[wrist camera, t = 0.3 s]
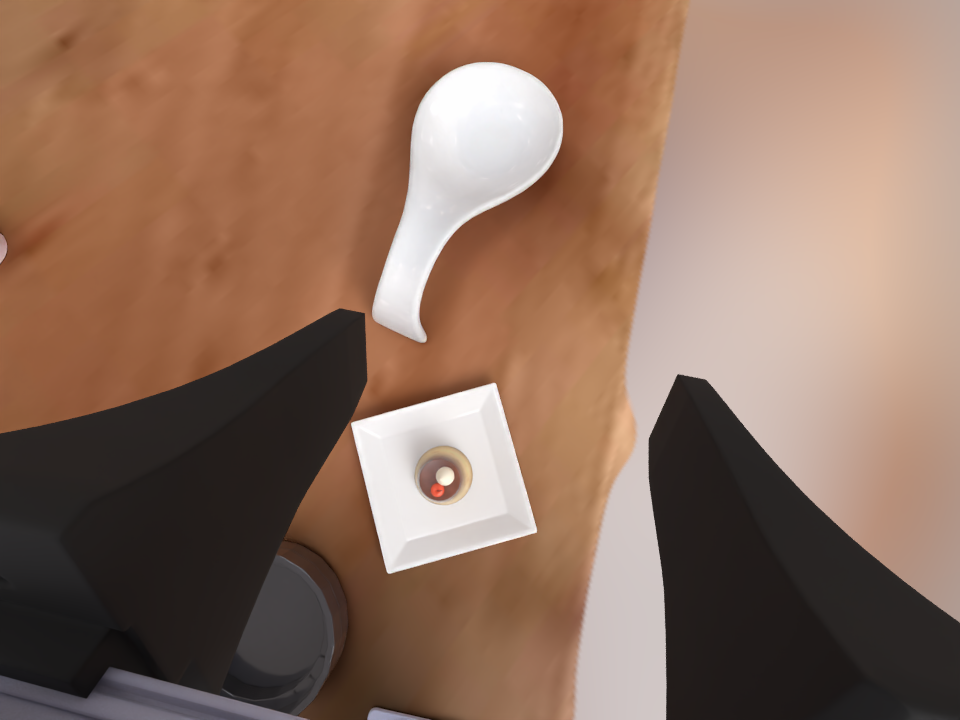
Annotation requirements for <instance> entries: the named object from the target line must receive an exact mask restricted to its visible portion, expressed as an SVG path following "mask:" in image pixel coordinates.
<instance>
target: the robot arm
mask: <svg viewBox="0 0 960 720" xmlns="http://www.w3.org/2000/svg"><path fill="white" fill-rule="evenodd" d="M366 383H367V360H366V334H365V313H361V312H356V311H350V310H345V309H338V310H335V311H333V312H331V313H330V314H328V315H326V316H324V317H322V318H320V319H319V320H317V321H315V322H313V323H311V324H310V325H308V326H306V327H304V328H302V329H301V330H299V331H297V332H295V333H293V334H292V335H290V336H288V337H286V338H284V339H282V340H281V341H279V342H277V343H275V344H273V345H271V346H269V347H267V348H265V349H263V350H261V351H259V352H257V353H255V354H253V355H251V356H249V357H247V358H245V359H243V360H241V361H239V362H237V363H235V364H233V365H231V366H229V367H226V368H224V369H222V370H220V371H217V372H215V373H213V374H210V375H208V376H206V377H203V378H200V379H198V380H195V381H193V382H190V383H188V384H185V385H182V386H180V387H177V388H174V389H171V390H169V391H165V392H162V393H159V394H156V395H153V396H150V397H147V398H144V399H141V400H137V401H134V402H131V403H128V404H125V405H122V406H118V407H115V408H111V409H107V410H104V411H100V412H96V413H93V414H89V415H85V416H81V417H77V418H72V419H68V420H64V421H60V422H56V423H51V424H47V425H42V426H38V427H32V428H27V429H22V430H17V431H11V432H6V433H1V434H0V720H309V719H305V718H301V717H297V716H294V715H290V714H286V713H282V712H278V711H275V710H271V709H267V708H263V707H260V706H256V705H252V704H248V703H245V702H241V701H237V700H233V699H229V698H226V697H222V696H219V695H220V692H221V689H222V686H223V684H224V681H225V678H226V676H227V673H228V671H229V668H230V665H231V663H232V660H233V658H234V655H235V652H236V650H237V647H238V645H239V642H240V639H241V637H242V634H243V632H244V629H245V627H246V624H247V622H248V620H249V617H250V615H251V612H252V610H253V607H254V605H255V603H256V600H257V598H258V595H259V593H260V591H261V588H262V586H263V583H264V581H265V579H266V577H267V574H268V572H269V570H270V568H271V565H272V563H273V561H274V559H275V556H276V554H277V552H278V549H279V547H280V545H281V543H282V541H283V539H284V536H285V534H286V532H287V530H288V528H289V526H290V524H291V522H292V519H293V517H294V515H295V513H296V511H297V509H298V507H299V505H300V503H301V501H302V499H303V498H304V496H305V494H306V492H307V490H308V489H309V487H310V485H311V484H312V482H313V480H314V479H315V477H316V475H317V474H318V472H319V471H320V469H321V467H322V466H323V464H324V462H325V461H326V459H327V457H328V456H329V454H330V452H331V451H332V449H333V448H334V446H335V444H336V443H337V441H338V439H339V438H340V436H341V434H342V433H343V431H344V429H345V428H346V426H347V424H348V423H349V421H350V419H351V417H352V416H353V413H354V411H355V409H356V407H357V404H358V402H359V400H360V397H361V395H362V393H363V390H364V388H365V385H366ZM649 484H650V491H651V499H652V505H653V512H654V520H655V526H656V533H657V540H658V546H659V553H660V560H661V567H662V575H663V585H664V602H665V628H666V677H667V678H666V679H667V693H666V694H667V695H666V700H667V701H666V702H667V703H666V720H960V623H959V622H958V621H957V620H955V619H954V618H952V617H951V616H950V615H948V614H947V613H946V612H944V611H943V610H941V609H940V608H938V607H937V606H936V605H934V604H933V603H932V602H930V601H929V600H928V599H926V598H925V597H924V596H922V595H921V594H920V593H918V592H917V591H916V590H915V589H913V588H912V587H911V586H909V585H908V584H907V583H905V582H904V581H903V580H902V579H900V578H899V577H898V576H897V575H895V574H894V573H893V572H892V571H890V570H889V569H888V568H887V567H885V566H884V565H883V564H882V563H881V562H879V561H878V560H877V559H876V558H875V557H873V556H872V555H871V554H870V553H868V552H867V551H866V550H865V549H864V548H862V547H861V546H860V545H859V544H858V543H857V542H855V541H854V540H853V539H852V538H851V537H850V536H848V535H847V534H846V533H845V532H844V531H843V530H842V529H841V528H840V527H839V526H838V525H837V524H836V523H834V522H833V521H832V520H831V519H830V518H829V517H828V516H827V515H826V514H825V513H824V512H823V511H822V510H820V509H819V508H818V507H817V506H816V505H815V504H814V503H813V502H812V501H811V500H810V499H809V498H808V497H807V496H806V495H805V494H804V493H803V492H802V491H801V490H800V489H799V488H798V487H797V486H796V485H795V483H794V482H793V481H792V480H791V479H790V478H789V477H788V476H787V475H786V474H785V473H784V472H783V471H782V470H781V469H780V468H779V467H778V465H777V464H776V463H775V462H774V461H773V460H772V458H771V457H770V456H769V455H768V454H767V453H766V452H765V451H764V449H763V448H762V447H761V446H760V445H759V444H758V442H757V441H756V440H755V439H754V438H753V436H752V435H751V434H750V433H749V432H748V430H747V429H746V428H745V427H744V425H743V424H742V423H741V422H740V421H739V420H738V418H737V417H736V416H735V414H734V413H733V412H732V411H731V410H730V408H729V407H728V406H727V404H726V403H725V402H724V401H723V400H722V398H721V397H720V396H719V394H718V393H717V392H716V391H715V390H714V388H713V387H712V386H711V385H710V384H709V383H708V382H707V380H705V379H700V378H694V377H689V376H684V375H679V374H678V375H677V377H676V379H675V382H674V384H673V386H672V388H671V390H670V393H669V395H668V397H667V399H666V402H665V404H664V406H663V408H662V411H661V413H660V415H659V417H658V419H657V422H656V424H655V426H654V429H653V431H652V433H651V435H650V437H649ZM367 720H430V719H426V718H421V717H417V716H412V715H408V714H404V713H399V712H395V711H390V710H386V709H382V708H377V707H374V708H372V709H371V710H370V712H369V715H368V719H367Z"/></svg>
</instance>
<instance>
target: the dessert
mask: <svg viewBox="0 0 960 720" xmlns="http://www.w3.org/2000/svg"><path fill="white" fill-rule="evenodd" d="M351 426H352V430H353V434H354V438H355V443H356V447H357V451H358V455H359V459H360V463H361V467H362V471H363V475H364V480H365V484H366V488H367V492H368V496H369V500H370V504H371V508H372V513H373V517H374V521H375V525H376V529H377V533H378V537H379V541H380V546H381V550H382V554H383V558H384V562H385V566H386V570H387V573H389V574H390V573H394V572H397V571H401V570H405V569H408V568H412V567H415V566H419V565H422V564H426V563H429V562H433V561H437V560H440V559H444V558H447V557H451V556H454V555H458V554H462V553H465V552H469V551H472V550H476V549H479V548H483V547H486V546H490V545H494V544H497V543H501V542H504V541H508V540H511V539H515V538H519V537H522V536H526V535H529V534H533V533H536V532H537V528H536V524H535V521H534V517H533V514H532V510H531V507H530V503H529V499H528V496H527V492H526V489H525V485H524V482H523V478H522V475H521V471H520V467H519V464H518V460H517V457H516V453H515V450H514V446H513V443H512V439H511V435H510V432H509V428H508V425H507V421H506V418H505V414H504V411H503V407H502V403H501V400H500V396H499V393H498V389H497V386H496V384H495V383H492V384H488V385H484V386H481V387H477V388H474V389H470V390H466V391H463V392H459V393H456V394H452V395H449V396H445V397H441V398H438V399H434V400H431V401H427V402H423V403H420V404H416V405H413V406H409V407H405V408H402V409H398V410H395V411H391V412H387V413H384V414H380V415H377V416H373V417H369V418H366V419H362V420H359V421H355V422H352V424H351Z"/></svg>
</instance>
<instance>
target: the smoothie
mask: <svg viewBox="0 0 960 720" xmlns="http://www.w3.org/2000/svg"><path fill="white" fill-rule="evenodd" d="M6 253H7V242H6V240H5V238H4V236H3V235H2V234H1V233H0V263H1V262H2V261H3V259H4V258H5V256H6Z"/></svg>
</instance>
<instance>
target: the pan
mask: <svg viewBox="0 0 960 720" xmlns="http://www.w3.org/2000/svg"><path fill="white" fill-rule="evenodd" d="M347 630H348V613H347V602H346V598H345V595H344V593H343V590H342V588H341V585H340V583H339V581H338V578H337V576H336V574H335V573H334V572H333V571H332V570H331V568H330V567H329V566H328V565H327V564H326V562H325V561H324V560H323V559H322V558H321V557H320V556H318V555H317V554H315V553H313V552H312V551H310V550H308V549H307V548H305V547H303V546H302V545H300V544H296V543H292V542H287V541H282V543H281V545H280V547H279V549H278V552H277V554H276V556H275V559H274V561H273V563H272V565H271V568H270V570H269V572H268V574H267V577H266V579H265V581H264V583H263V586H262V588H261V591H260V593H259V595H258V598H257V600H256V603H255V605H254V607H253V610H252V612H251V615H250V617H249V620H248V622H247V624H246V627H245V629H244V632H243V634H242V637H241V639H240V642H239V645H238V647H237V650H236V652H235V655H234V658H233V660H232V663H231V665H230V668H229V671H228V673H227V676H226V678H225V681H224V684H223V686H222V689H221V692H220V695H219V696H222V697H226V698H229V699H233V700H237V701H241V702H245V703H248V704H252V705H256V706H260V707H263V708H267V709H271V710H275V711H278V712H282V713H286V714H290V715H294V716H298V715H299V714H300V713H301V712H302V711H303V710H304V709H305V708H306V707H307V706H308V705H309V704H310V703H311V702H312V701H313V700H314V699H315V698H316V696H317V694H318V693H319V691H320V690H321V688H322V687H323V685H324V683H325V682H326V680H327V679H328V677H329V676H330V674H331V672H332V670H333V669H334V667H335V665H336V663H337V661H338V660H339V658H340V656H341V654H342V652H343V649H344V644H345V640H346V635H347Z"/></svg>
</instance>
